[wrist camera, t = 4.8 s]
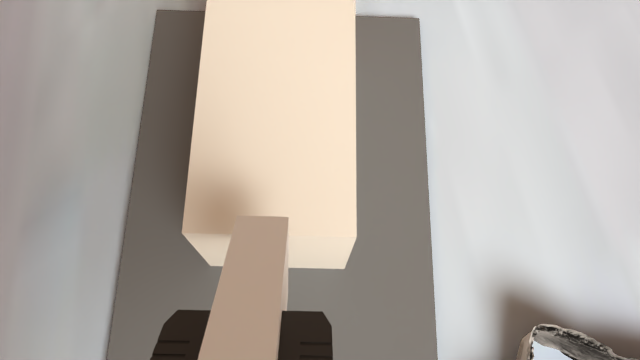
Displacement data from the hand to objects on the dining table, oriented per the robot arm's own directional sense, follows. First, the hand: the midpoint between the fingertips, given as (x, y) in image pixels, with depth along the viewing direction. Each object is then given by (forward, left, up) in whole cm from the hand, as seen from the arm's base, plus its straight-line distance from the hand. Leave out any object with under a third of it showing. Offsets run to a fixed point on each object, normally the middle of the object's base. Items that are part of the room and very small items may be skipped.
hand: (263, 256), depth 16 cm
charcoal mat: (-3, +3, -9) cm, 10 cm away
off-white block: (-1, +1, -5) cm, 5 cm away
